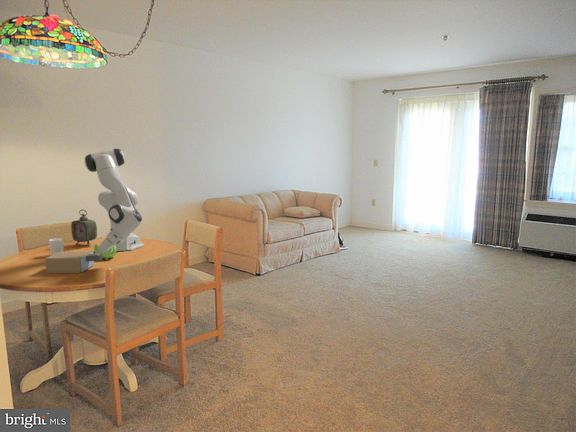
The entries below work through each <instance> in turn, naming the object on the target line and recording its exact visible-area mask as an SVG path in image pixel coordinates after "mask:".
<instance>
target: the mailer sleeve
mask: <svg viewBox="0 0 576 432" xmlns="http://www.w3.org/2000/svg"><path fill="white" fill-rule="evenodd" d="M91 252H92V251H64V252H58V253H56V254H54V255H51V254H50V255H49V256H48V257H45V259H44V262H45V271H46V272H45V273H46V274H71V273H72V274H76V273H77V274H78V273H79V274H80V273H82V272H81V263H80V258H82V257H84V256H85V255H87V254H89V253H91Z"/></svg>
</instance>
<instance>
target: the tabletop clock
mask: <svg viewBox="0 0 576 432" xmlns="http://www.w3.org/2000/svg"><path fill="white" fill-rule="evenodd" d="M82 211H83V212H85V213H81V212H82ZM78 213H79V215H80V217H79V219H78V220H73V221H72V222H71V228H70V229H71V235H72V239H73V241H76V243H75V246H78V245H79V243H80V242H81V243H86V247H90V241H94V240H96V239H97V237H98V227H97V223H96V221H95V220H92V219H88V217H87V215H88V212H87V210H86V209H80V210H79V211H78Z"/></svg>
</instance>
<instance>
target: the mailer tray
mask: <svg viewBox="0 0 576 432" xmlns="http://www.w3.org/2000/svg"><path fill="white" fill-rule="evenodd" d="M90 252H91V253H89V254H87V255H85V256H84V257H82V258H80V263H81V273H83V272H84V271H86V270H88V269H90V268H92V266H94V265H95V262H100V261H102V260H103V258H102V254H101V255H100V256H97V255H96V254H95V253H94V251H90Z"/></svg>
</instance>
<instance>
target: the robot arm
mask: <svg viewBox="0 0 576 432" xmlns="http://www.w3.org/2000/svg"><path fill="white" fill-rule="evenodd" d="M125 160H126V157H125V154H124V152H123V151H122V150H121V149H119V148H113V149H106V150H102V151H97V152H94V153H90V154H89V153H88V154H87V155H85V157H84V165H85V168H86V169H87V170H88V171H89V172H92V173H93V172H94V173H95V172H96V174H97V178H98V180H99V182H100V184H101V186H102V187H104V188H105V189H107V190H104V191H101V192H99V194H98V196H97V200H98V203H99V205H100V206H101V207H103V208H104V209H105V211H106V212H107V214H108V218H109V220H110V229H109V230H110V231H109V233H107V235H106V236H105V237H106V238H104V240H103V241H101V243H100V244H99V245H100V246H99V247H98V250H99V251H98V252H97V253H96V255H97V256H100V255H101V254H102V253H104V252H106V251H108V250H109V249H110V248H112V247H114V246H116V250H117V252H124V251H134V250H136V249H138V248H141V247H144V246H145V243H142V242H141V238H140V236H138V235H136V234H135V233H134V231H136V230H137V228H138V227H139V226H140V225H141V223H142V221H143V217H142V215H141V214H140V212H139V210H138V209H137V208H136V206H137V205H138V202H139V195H138V194H137V192H136V191H133V190H132V189H130V188H129V187H128V185H126V184H125V182H124V181H123V178H122V175H121V173H120V170H119V167H121V166H123V165H124V164H125V162H126V161H125Z"/></svg>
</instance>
